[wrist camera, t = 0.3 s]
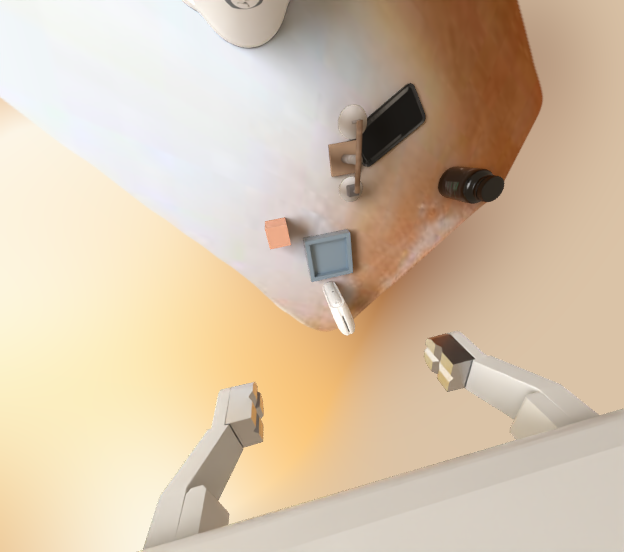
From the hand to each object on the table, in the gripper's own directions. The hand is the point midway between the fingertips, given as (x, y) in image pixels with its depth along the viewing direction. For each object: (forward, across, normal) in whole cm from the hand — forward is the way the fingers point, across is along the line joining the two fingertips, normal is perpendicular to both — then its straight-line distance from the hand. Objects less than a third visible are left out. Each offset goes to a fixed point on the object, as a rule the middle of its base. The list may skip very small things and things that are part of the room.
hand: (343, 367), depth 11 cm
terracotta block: (+46, +3, +7) cm, 46 cm away
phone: (+46, -24, -10) cm, 53 cm away
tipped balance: (+46, -14, -6) cm, 48 cm away
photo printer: (+46, -8, +28) cm, 55 cm away
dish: (+46, -8, +16) cm, 49 cm away
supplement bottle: (+46, -40, +4) cm, 61 cm away
